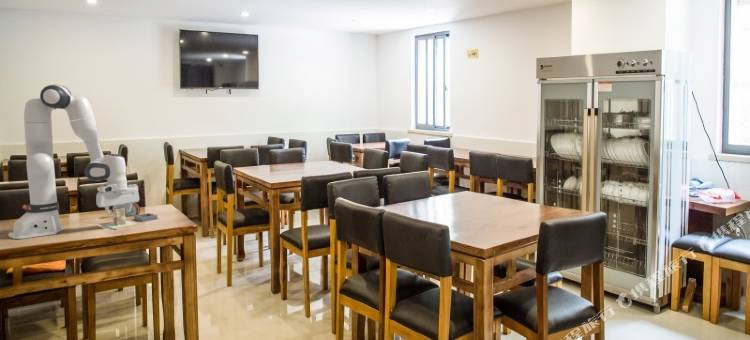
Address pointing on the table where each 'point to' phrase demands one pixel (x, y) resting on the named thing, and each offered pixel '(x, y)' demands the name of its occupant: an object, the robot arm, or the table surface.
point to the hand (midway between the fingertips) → (119, 213)
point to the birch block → (119, 216)
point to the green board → (112, 226)
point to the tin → (134, 209)
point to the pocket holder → (145, 217)
